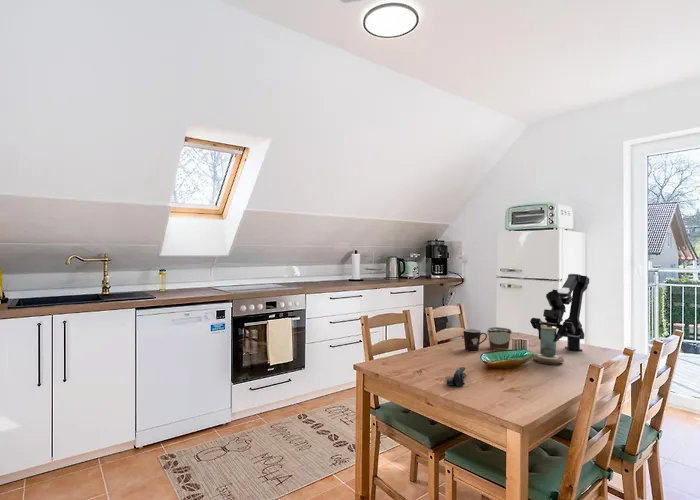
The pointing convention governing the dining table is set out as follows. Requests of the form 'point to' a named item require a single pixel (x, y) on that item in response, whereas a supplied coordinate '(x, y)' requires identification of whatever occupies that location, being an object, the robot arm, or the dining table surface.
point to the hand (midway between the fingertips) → (547, 340)
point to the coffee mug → (472, 339)
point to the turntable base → (547, 363)
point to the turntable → (548, 358)
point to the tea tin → (548, 340)
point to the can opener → (457, 377)
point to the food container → (499, 337)
